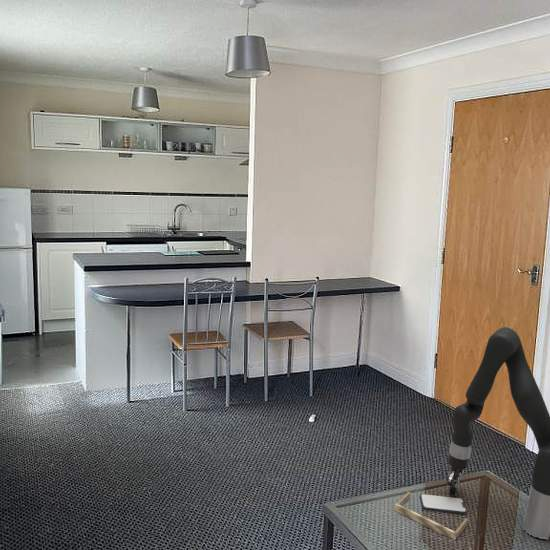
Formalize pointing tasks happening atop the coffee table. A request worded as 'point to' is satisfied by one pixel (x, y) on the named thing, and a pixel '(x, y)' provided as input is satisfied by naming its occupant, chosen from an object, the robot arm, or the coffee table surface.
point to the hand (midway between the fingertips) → (452, 493)
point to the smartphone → (443, 504)
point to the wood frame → (426, 521)
